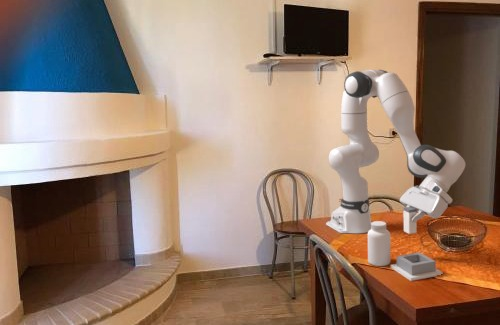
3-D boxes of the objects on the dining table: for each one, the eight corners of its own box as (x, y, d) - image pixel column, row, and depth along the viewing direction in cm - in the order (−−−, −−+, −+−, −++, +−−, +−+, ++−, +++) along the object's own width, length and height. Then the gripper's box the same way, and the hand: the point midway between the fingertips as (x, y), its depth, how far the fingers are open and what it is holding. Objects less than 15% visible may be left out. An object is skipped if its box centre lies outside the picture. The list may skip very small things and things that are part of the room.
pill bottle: (387, 268, 154) (386, 227, 151) (365, 264, 158) (364, 225, 156) (393, 260, 160) (392, 221, 158) (371, 257, 165) (370, 218, 162)
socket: (390, 267, 154) (390, 255, 153) (420, 262, 157) (420, 250, 156) (410, 280, 143) (410, 268, 142) (442, 274, 145) (442, 262, 145)
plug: (403, 231, 161) (403, 207, 160) (410, 229, 162) (410, 206, 160) (409, 234, 158) (409, 210, 156) (416, 232, 159) (416, 209, 157)
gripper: (409, 179, 169) (387, 207, 168) (445, 190, 149) (420, 222, 148) (419, 189, 170) (397, 216, 170) (456, 201, 151) (431, 232, 150)
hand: (408, 219), depth 159 cm, fingers closed on plug, 3 cm apart
